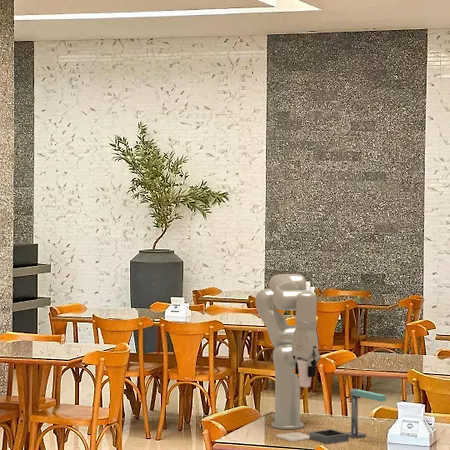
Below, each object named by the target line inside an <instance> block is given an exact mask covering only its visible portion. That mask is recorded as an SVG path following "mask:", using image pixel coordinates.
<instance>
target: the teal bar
mask: <svg viewBox="0 0 450 450" xmlns="http://www.w3.org/2000/svg"><path fill="white" fill-rule="evenodd" d="M351 395H354V396H358V398H359V397H360V398H362V399H363V398H364V399H368V400H371V401H376V402H387V401H386V400H387V395H386V394H382V393H381V394H380V393H376V392H372V391H368V390H367V391H366V390H362V389H359V388H350V396H351Z"/></svg>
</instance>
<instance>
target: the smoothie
mask: <svg viewBox="0 0 450 450" xmlns="http://www.w3.org/2000/svg"><path fill="white" fill-rule="evenodd" d="M312 361H313V360H312V359H311V362H312ZM297 363H298V371H299V374H298V378H299V380H300V388H310V387H311V384H312V377H308V366H309V363H308V359H305V358H303V359H297Z"/></svg>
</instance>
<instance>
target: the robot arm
mask: <svg viewBox="0 0 450 450" xmlns="http://www.w3.org/2000/svg"><path fill="white" fill-rule="evenodd" d="M268 286H269V288H264V289H260V290H259V291H258V292H257V293H256V294H255V308H256V311H257V314H258V316H259V318H260V319H261V321H262V322H263V324H264V326H265V327H266V331H267V333H268V337H269V339H270V342H271V344H272V346H273V348H274V349H273V352H272V361H273V367H274V378H275V381H274V382H275V383H274V384H275V385H274V387H275V388H274V389H275V393H274V394H275V395H274V397H275V398H274V400H275V402H274V404H275V405H274V409H275V410H274V413H272V414H271V418H272V419H273V420H274V421H272V422H271V424H270V425H271V427H272V428H275V429H280V430H296V429H302V428H303V427H305V424H304V422H303V421H301V416H300V415H301V414H300V413H301V386H300V380H299V371H298V363H297V359H303V358H305V359H308V363H309V366H308V377H311V378H313V377H316V372H317V371H316V369H317V366H318V363H319V361H320V359H322V357H321V355H320V353H319V339H318V338H319V337H318V332H317V303H318V302H317V300H318V299H317V295H316V293H314V292H312V291H311V290H309V289H308V290H307V281H306V279H305V277H304V276H303V274H300V273H279V274H274V275H273V276H271V278H270V280H269V283H268ZM278 310H280V311H288V312H289V311H295V325H291V324H288V320H287V319H286V317H285V316H284V315H283V314H282V313H281V312H280V311H278ZM311 359H312V360H313V361H312V362H311ZM294 370H295V371H294Z"/></svg>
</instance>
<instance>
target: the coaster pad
mask: <svg viewBox="0 0 450 450" xmlns="http://www.w3.org/2000/svg"><path fill="white" fill-rule="evenodd" d="M275 437H276V438H279V439H282V440H285V441H288V442H299V441H300V442H301V441H305V440H311V439H310V434H306V433H303V432H298V431H296V432H295V431H294V432H290V433H289V432H287V433H280V434H275Z"/></svg>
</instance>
